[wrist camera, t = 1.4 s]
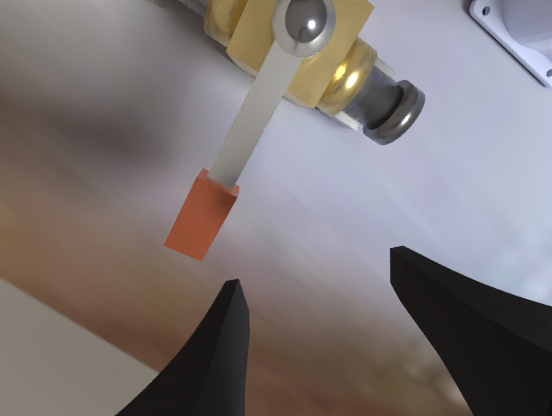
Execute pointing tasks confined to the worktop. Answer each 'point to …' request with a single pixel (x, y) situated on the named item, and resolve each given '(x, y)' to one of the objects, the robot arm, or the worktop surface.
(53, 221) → the worktop surface
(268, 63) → the valve lever
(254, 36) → the pipe valve
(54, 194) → the worktop surface
